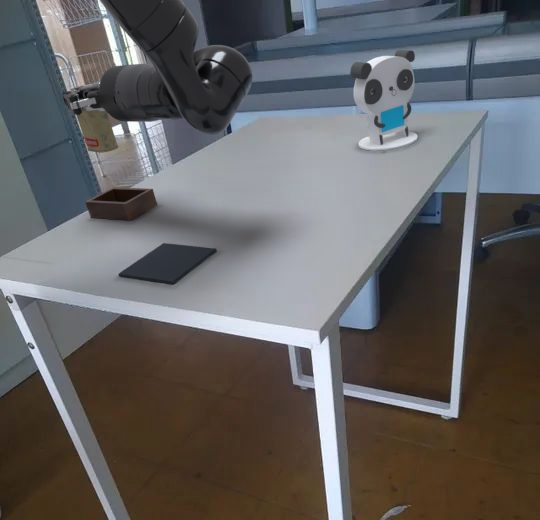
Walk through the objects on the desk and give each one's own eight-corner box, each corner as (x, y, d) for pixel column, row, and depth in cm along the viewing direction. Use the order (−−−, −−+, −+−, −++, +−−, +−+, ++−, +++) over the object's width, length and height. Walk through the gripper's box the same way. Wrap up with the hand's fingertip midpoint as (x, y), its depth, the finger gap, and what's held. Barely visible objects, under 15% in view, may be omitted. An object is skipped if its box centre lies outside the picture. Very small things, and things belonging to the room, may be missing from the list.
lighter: (85, 151, 94) (62, 88, 89) (104, 144, 96) (83, 82, 91) (104, 154, 90) (82, 88, 84) (124, 147, 92) (104, 82, 86)
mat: (173, 284, 71) (172, 281, 71) (118, 276, 76) (117, 273, 76) (216, 250, 78) (216, 248, 77) (164, 245, 83) (163, 242, 82)
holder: (131, 220, 94) (125, 204, 93) (90, 217, 99) (84, 201, 98) (157, 204, 99) (152, 188, 97) (117, 202, 104) (112, 187, 102)
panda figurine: (376, 155, 101) (372, 65, 92) (344, 145, 110) (337, 62, 101) (430, 138, 104) (430, 49, 96) (394, 129, 113) (391, 47, 104)
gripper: (167, 54, 81) (103, 61, 92) (89, 76, 73) (28, 81, 84) (180, 108, 85) (117, 108, 96) (107, 134, 78) (47, 132, 88)
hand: (76, 96), depth 90 cm, fingers closed on lighter, 3 cm apart
